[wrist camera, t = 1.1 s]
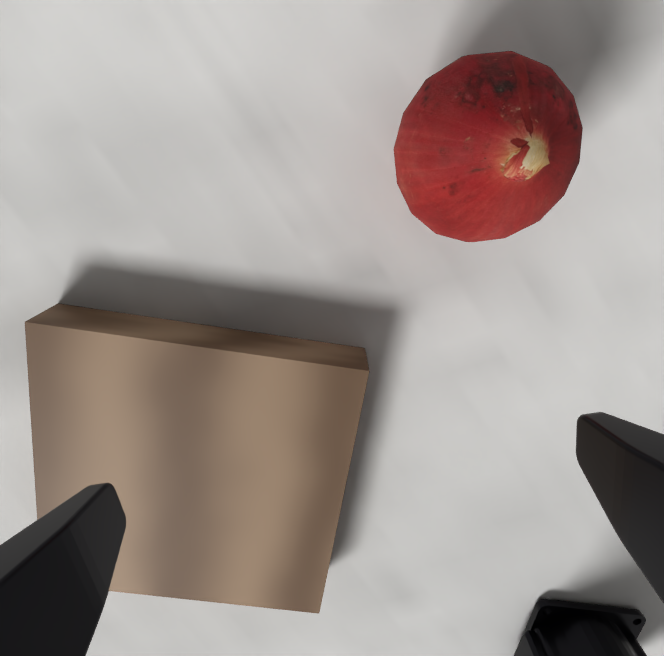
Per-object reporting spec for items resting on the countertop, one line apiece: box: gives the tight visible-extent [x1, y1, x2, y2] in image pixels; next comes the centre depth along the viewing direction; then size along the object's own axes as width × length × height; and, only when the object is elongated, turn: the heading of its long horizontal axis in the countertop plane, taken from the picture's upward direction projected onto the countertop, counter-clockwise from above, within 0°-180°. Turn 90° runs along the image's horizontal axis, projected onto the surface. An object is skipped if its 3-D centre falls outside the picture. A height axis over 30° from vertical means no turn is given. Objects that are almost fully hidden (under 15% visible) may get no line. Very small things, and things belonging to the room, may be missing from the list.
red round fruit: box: [394, 51, 582, 242], centre depth 15 cm, size 6×6×8 cm
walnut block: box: [25, 304, 369, 613], centre depth 23 cm, size 14×14×3 cm
